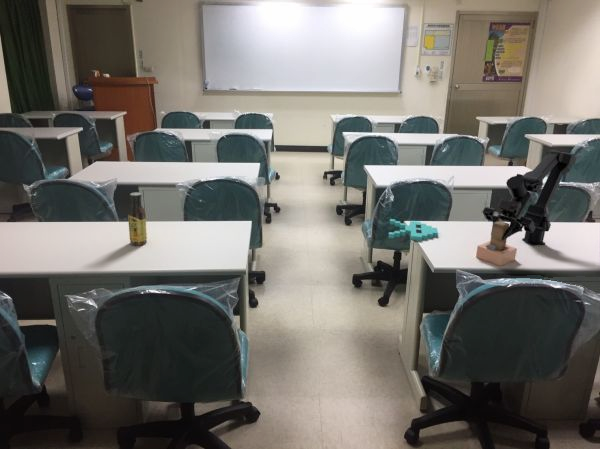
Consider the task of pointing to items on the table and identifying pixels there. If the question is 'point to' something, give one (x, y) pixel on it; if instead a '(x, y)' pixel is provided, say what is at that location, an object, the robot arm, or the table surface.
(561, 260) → the table surface
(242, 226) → the table surface
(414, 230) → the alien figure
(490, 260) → the box
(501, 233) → the walnut stick
